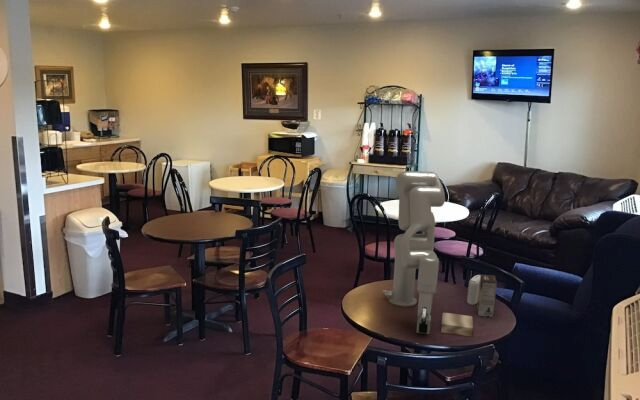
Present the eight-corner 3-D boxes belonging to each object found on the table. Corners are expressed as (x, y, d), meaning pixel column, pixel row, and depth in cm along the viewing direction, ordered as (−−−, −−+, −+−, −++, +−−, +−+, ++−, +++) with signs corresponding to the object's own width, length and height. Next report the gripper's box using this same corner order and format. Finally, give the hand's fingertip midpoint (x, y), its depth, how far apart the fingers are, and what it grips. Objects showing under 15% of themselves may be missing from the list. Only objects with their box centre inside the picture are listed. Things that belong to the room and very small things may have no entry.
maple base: (440, 333, 223) (441, 323, 222) (441, 321, 234) (442, 312, 233) (471, 337, 220) (472, 328, 219) (471, 325, 231) (472, 316, 231)
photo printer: (474, 305, 251) (477, 279, 249) (465, 303, 254) (468, 277, 251) (483, 299, 259) (486, 274, 257) (475, 297, 262) (477, 272, 259)
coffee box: (476, 307, 249) (480, 273, 246) (491, 309, 248) (495, 275, 245) (478, 315, 240) (481, 280, 237) (493, 317, 239) (497, 282, 236)
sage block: (416, 332, 221) (417, 318, 220) (417, 327, 226) (418, 313, 225) (429, 334, 220) (430, 320, 219) (429, 329, 225) (431, 315, 224)
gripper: (418, 278, 229) (415, 318, 232) (415, 293, 212) (412, 336, 216) (437, 280, 227) (433, 321, 230) (435, 295, 210) (431, 339, 214)
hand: (423, 328), depth 223 cm, fingers open, 7 cm apart
